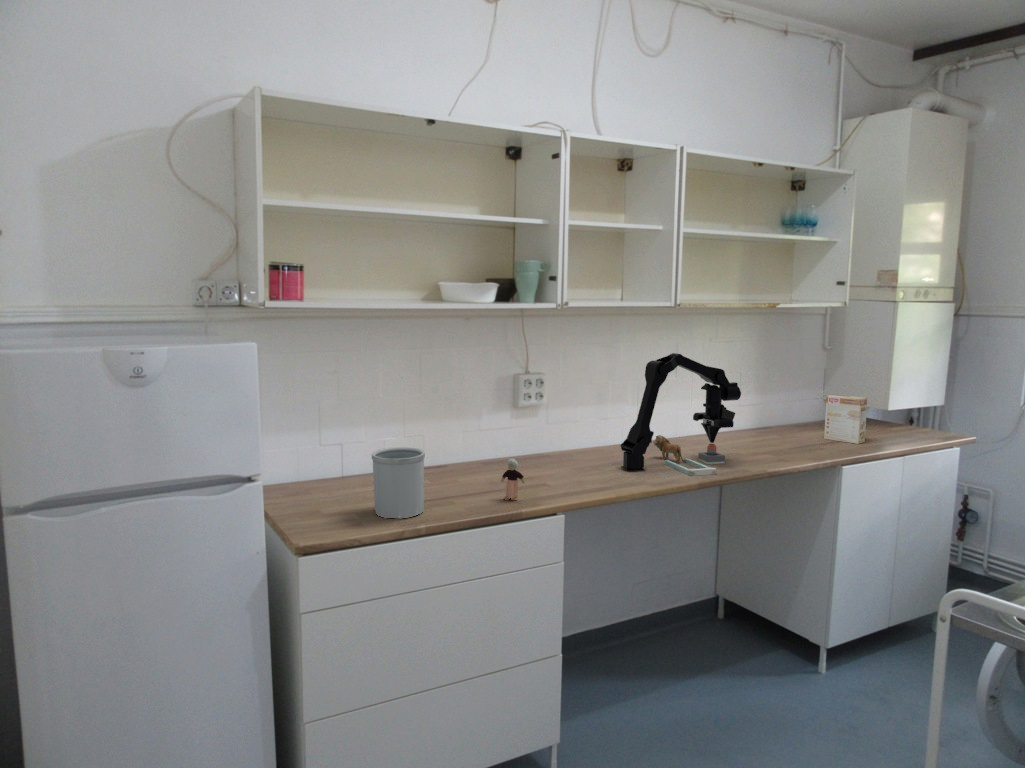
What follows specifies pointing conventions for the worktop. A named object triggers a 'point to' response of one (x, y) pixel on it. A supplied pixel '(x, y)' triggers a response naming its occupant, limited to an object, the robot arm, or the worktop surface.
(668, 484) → the worktop surface
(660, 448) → the lion figurine
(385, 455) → the utensil holder
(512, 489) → the grandmother figurine
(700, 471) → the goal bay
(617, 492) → the worktop surface
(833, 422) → the coffeecake box
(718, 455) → the button housing
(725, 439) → the worktop surface
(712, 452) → the dome plunger
